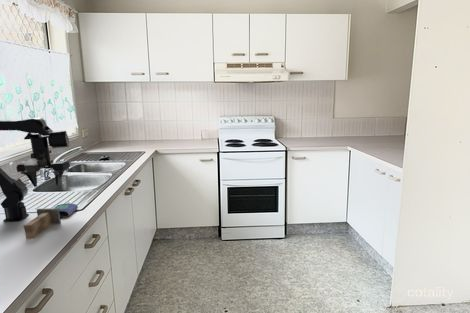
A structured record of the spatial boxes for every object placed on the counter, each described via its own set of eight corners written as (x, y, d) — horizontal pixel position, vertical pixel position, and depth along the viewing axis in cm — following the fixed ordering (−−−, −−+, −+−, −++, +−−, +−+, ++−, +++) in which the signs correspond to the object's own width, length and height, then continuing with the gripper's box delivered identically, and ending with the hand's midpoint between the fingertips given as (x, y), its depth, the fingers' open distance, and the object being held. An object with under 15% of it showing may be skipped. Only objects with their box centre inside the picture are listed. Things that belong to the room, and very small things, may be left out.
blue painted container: (68, 217, 129) (80, 207, 139) (67, 210, 128) (79, 201, 139) (45, 218, 129) (58, 208, 139) (44, 211, 128) (57, 201, 138)
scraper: (40, 238, 111) (38, 222, 110) (18, 238, 112) (15, 223, 110) (60, 222, 124) (58, 208, 123) (40, 223, 124) (38, 208, 123)
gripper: (3, 154, 119) (10, 193, 123) (52, 153, 119) (58, 192, 122) (22, 148, 130) (29, 184, 134) (67, 147, 130) (73, 183, 133)
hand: (46, 186), depth 130 cm, fingers open, 9 cm apart
